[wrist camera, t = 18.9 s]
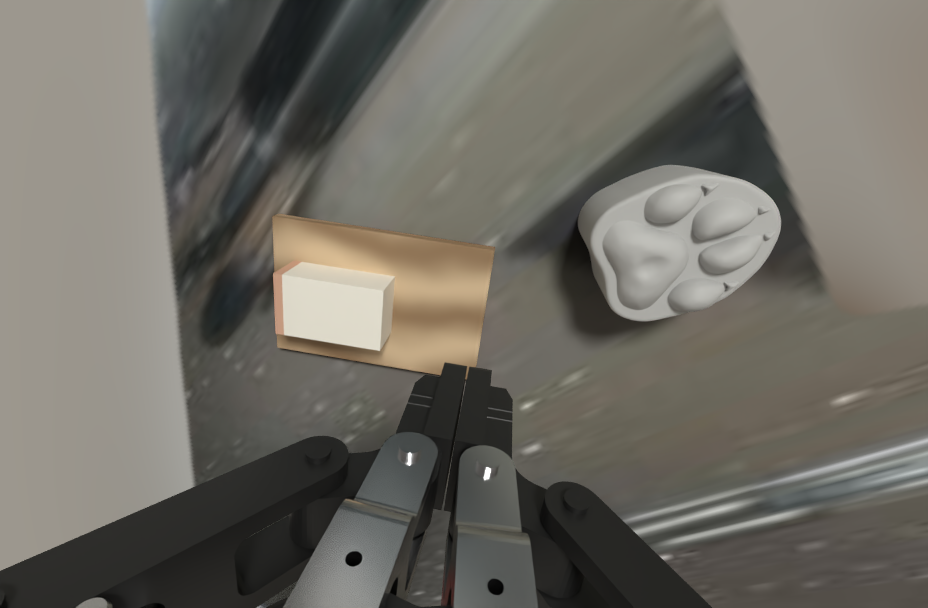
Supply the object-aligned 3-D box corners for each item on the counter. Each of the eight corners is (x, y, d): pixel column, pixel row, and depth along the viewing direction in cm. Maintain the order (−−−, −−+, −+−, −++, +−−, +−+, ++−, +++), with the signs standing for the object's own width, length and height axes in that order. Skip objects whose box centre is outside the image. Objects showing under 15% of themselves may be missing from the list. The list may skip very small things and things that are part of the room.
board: (278, 213, 43) (272, 216, 42) (495, 247, 42) (494, 250, 41) (282, 342, 48) (277, 347, 47) (474, 374, 47) (473, 380, 46)
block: (395, 276, 43) (293, 260, 43) (383, 290, 39) (273, 273, 39) (391, 332, 45) (295, 316, 45) (379, 350, 41) (275, 333, 42)
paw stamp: (568, 199, 39) (582, 218, 31) (724, 140, 36) (782, 144, 28) (602, 301, 43) (622, 342, 35) (747, 255, 40) (805, 288, 32)
